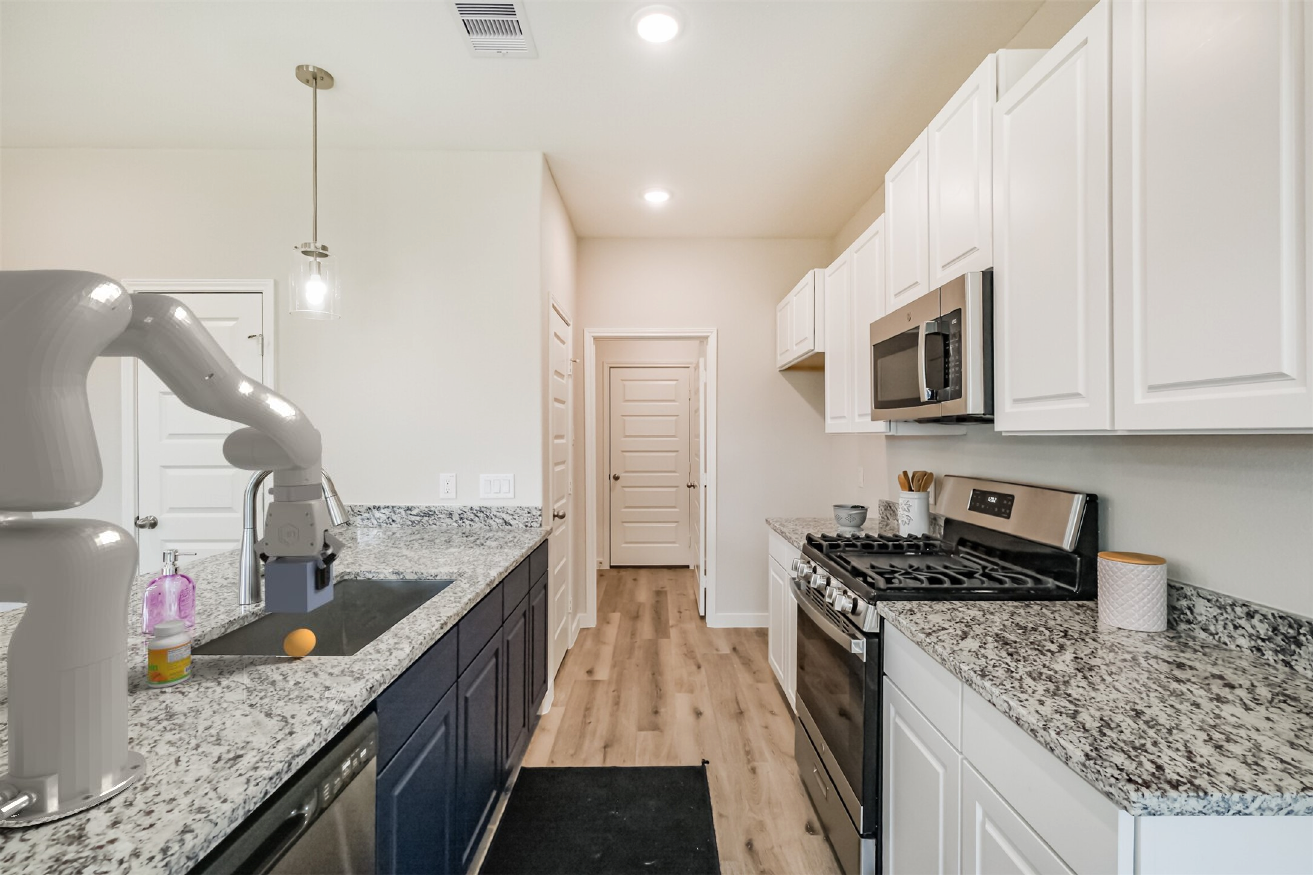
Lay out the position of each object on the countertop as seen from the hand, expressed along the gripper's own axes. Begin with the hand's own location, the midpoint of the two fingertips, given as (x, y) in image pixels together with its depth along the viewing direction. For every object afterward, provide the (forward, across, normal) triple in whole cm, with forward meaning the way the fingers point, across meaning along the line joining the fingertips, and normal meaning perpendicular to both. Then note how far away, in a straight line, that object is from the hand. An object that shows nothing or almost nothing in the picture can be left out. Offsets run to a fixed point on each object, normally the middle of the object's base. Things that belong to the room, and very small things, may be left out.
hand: (300, 587), depth 102 cm
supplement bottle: (+13, -15, -11) cm, 22 cm away
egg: (+10, 0, 0) cm, 10 cm away
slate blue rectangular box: (+3, 0, 0) cm, 3 cm away
